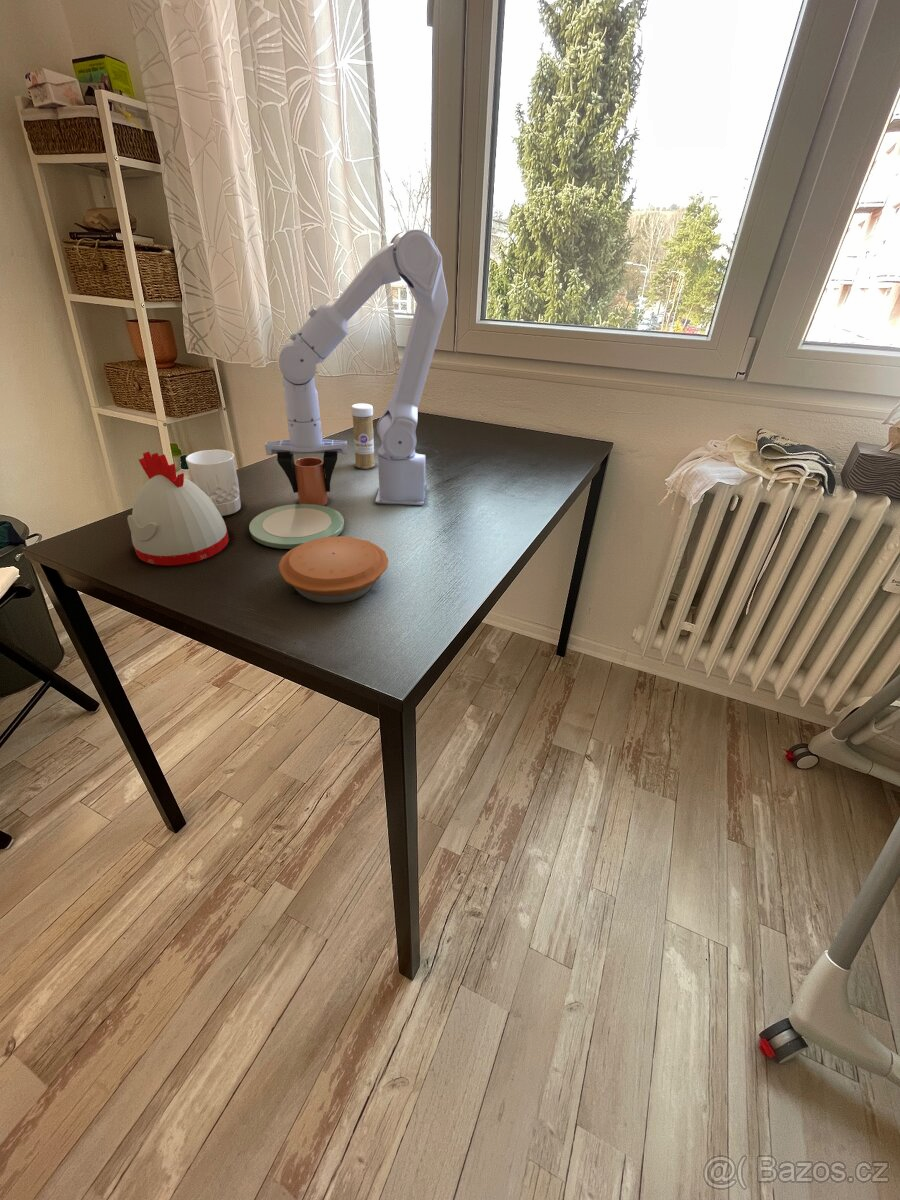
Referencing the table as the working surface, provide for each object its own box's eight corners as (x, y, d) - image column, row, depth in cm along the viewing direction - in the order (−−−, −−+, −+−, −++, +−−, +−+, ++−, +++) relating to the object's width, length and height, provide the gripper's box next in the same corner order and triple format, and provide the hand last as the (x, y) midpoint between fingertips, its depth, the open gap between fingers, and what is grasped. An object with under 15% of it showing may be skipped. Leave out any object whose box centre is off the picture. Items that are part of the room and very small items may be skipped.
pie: (271, 613, 69) (264, 581, 66) (294, 556, 82) (289, 528, 79) (385, 613, 70) (384, 582, 67) (390, 557, 83) (390, 529, 80)
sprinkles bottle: (358, 470, 115) (354, 408, 107) (353, 463, 118) (348, 403, 110) (377, 468, 116) (375, 407, 109) (372, 461, 120) (369, 402, 112)
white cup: (229, 520, 92) (217, 466, 86) (190, 515, 93) (175, 461, 87) (252, 503, 98) (242, 451, 92) (215, 498, 99) (203, 447, 93)
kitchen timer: (188, 519, 91) (164, 434, 83) (246, 536, 87) (228, 449, 78) (116, 551, 81) (81, 459, 72) (178, 574, 76) (149, 477, 68)
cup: (330, 497, 102) (326, 457, 97) (324, 508, 97) (320, 467, 93) (303, 495, 102) (297, 456, 97) (296, 507, 97) (290, 466, 93)
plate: (351, 511, 96) (350, 505, 96) (334, 552, 83) (334, 545, 82) (266, 508, 96) (265, 501, 95) (236, 549, 83) (234, 541, 82)
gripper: (345, 412, 95) (350, 481, 103) (264, 412, 93) (275, 483, 100) (345, 422, 89) (350, 495, 97) (258, 423, 87) (271, 497, 95)
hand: (312, 490), depth 98 cm, fingers closed on cup, 5 cm apart
